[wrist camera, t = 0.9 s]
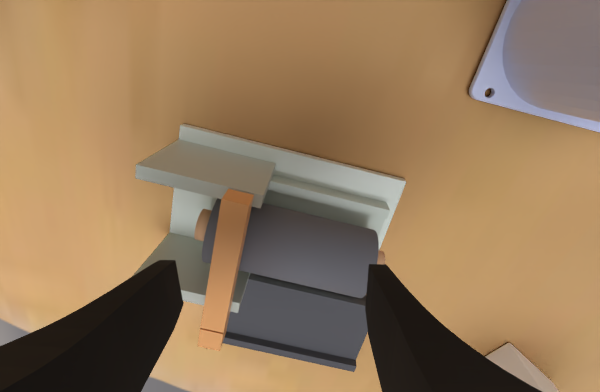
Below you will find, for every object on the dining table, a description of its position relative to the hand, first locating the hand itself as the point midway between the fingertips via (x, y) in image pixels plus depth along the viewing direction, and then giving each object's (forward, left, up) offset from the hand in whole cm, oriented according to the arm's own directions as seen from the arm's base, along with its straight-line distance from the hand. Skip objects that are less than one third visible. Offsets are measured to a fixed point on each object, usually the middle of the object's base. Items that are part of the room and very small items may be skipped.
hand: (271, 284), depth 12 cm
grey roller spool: (-1, +2, -6) cm, 7 cm away
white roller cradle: (0, +2, -10) cm, 10 cm away
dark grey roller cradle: (-2, +10, -10) cm, 14 cm away
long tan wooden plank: (+2, +3, -4) cm, 5 cm away
